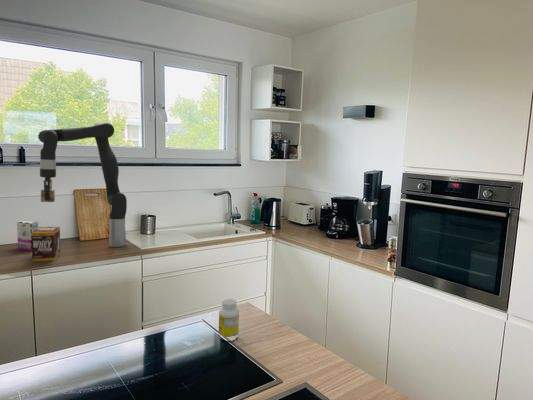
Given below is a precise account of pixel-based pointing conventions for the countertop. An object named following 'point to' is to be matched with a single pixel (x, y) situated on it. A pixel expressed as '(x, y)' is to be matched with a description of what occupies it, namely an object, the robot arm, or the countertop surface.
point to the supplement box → (45, 243)
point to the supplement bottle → (228, 318)
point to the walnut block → (52, 196)
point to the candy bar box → (25, 234)
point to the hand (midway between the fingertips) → (47, 199)
